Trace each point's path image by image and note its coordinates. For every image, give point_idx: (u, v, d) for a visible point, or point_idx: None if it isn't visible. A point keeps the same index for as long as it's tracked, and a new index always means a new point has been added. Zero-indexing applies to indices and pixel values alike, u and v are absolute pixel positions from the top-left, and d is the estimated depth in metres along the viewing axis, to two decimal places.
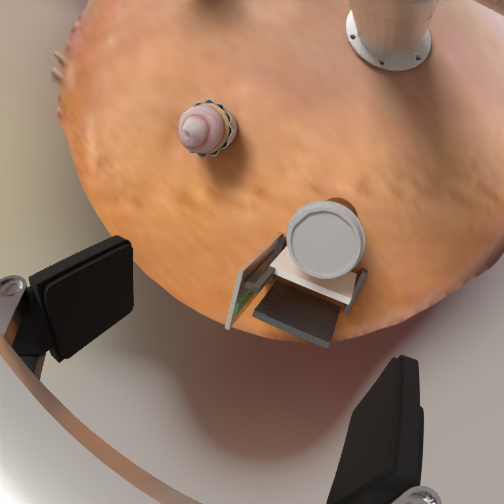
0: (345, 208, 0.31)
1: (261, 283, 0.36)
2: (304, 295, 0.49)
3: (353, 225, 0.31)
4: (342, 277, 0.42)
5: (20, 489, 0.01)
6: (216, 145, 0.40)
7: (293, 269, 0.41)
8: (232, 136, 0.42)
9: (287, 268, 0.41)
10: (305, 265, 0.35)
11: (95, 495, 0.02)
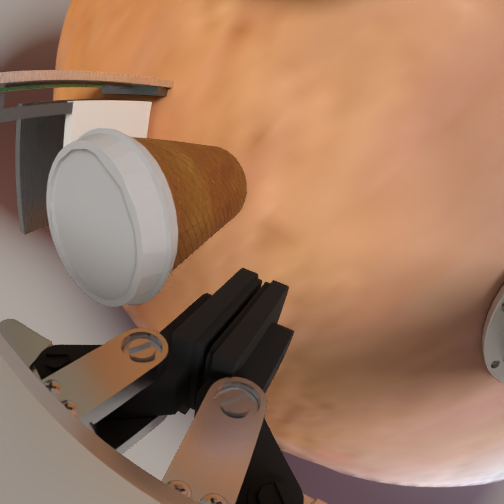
0: (164, 271, 0.13)
1: (10, 117, 0.11)
2: None
3: (128, 297, 0.13)
4: None
5: (20, 489, 0.01)
6: None
7: None
8: None
9: (81, 132, 0.17)
10: (56, 188, 0.13)
11: (95, 495, 0.02)
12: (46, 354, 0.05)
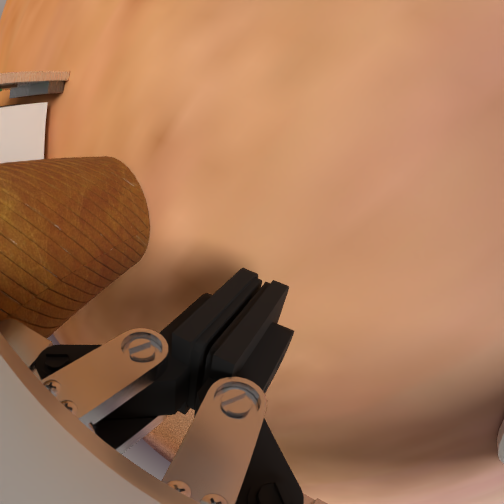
0: None
1: None
2: None
3: None
4: None
5: (20, 489, 0.01)
6: None
7: None
8: None
9: None
10: None
11: (95, 495, 0.02)
12: (46, 354, 0.05)
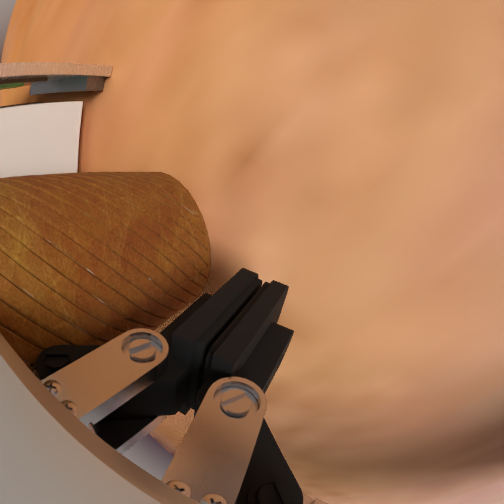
0: None
1: None
2: None
3: None
4: None
5: (20, 489, 0.01)
6: None
7: None
8: None
9: None
10: None
11: (95, 495, 0.02)
12: (46, 355, 0.05)
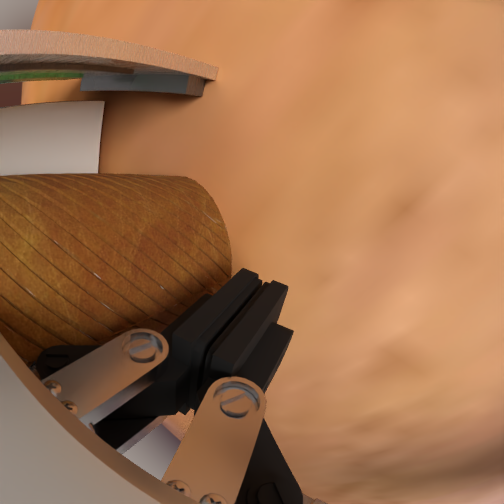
0: None
1: None
2: None
3: None
4: None
5: (20, 489, 0.01)
6: None
7: None
8: None
9: None
10: None
11: (95, 495, 0.02)
12: (47, 355, 0.05)
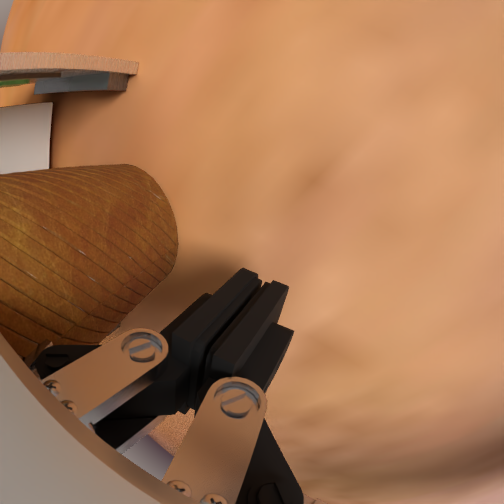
0: None
1: None
2: None
3: None
4: None
5: (20, 489, 0.01)
6: None
7: None
8: None
9: None
10: None
11: (95, 495, 0.02)
12: (46, 355, 0.05)
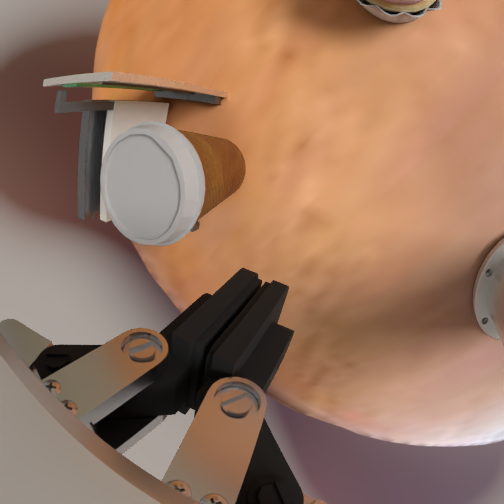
0: (195, 214, 0.20)
1: (70, 109, 0.18)
2: None
3: (169, 233, 0.20)
4: None
5: (20, 489, 0.01)
6: None
7: (122, 132, 0.24)
8: (380, 14, 0.16)
9: (119, 125, 0.23)
10: (110, 163, 0.20)
11: (95, 495, 0.02)
12: (46, 354, 0.05)
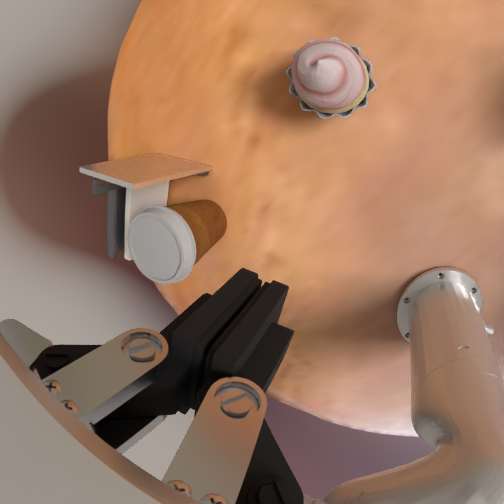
0: (191, 267, 0.32)
1: (103, 191, 0.30)
2: None
3: (175, 278, 0.32)
4: None
5: (20, 489, 0.01)
6: (302, 98, 0.26)
7: (138, 198, 0.37)
8: None
9: (136, 194, 0.36)
10: (134, 229, 0.33)
11: (95, 495, 0.02)
12: (46, 354, 0.05)
